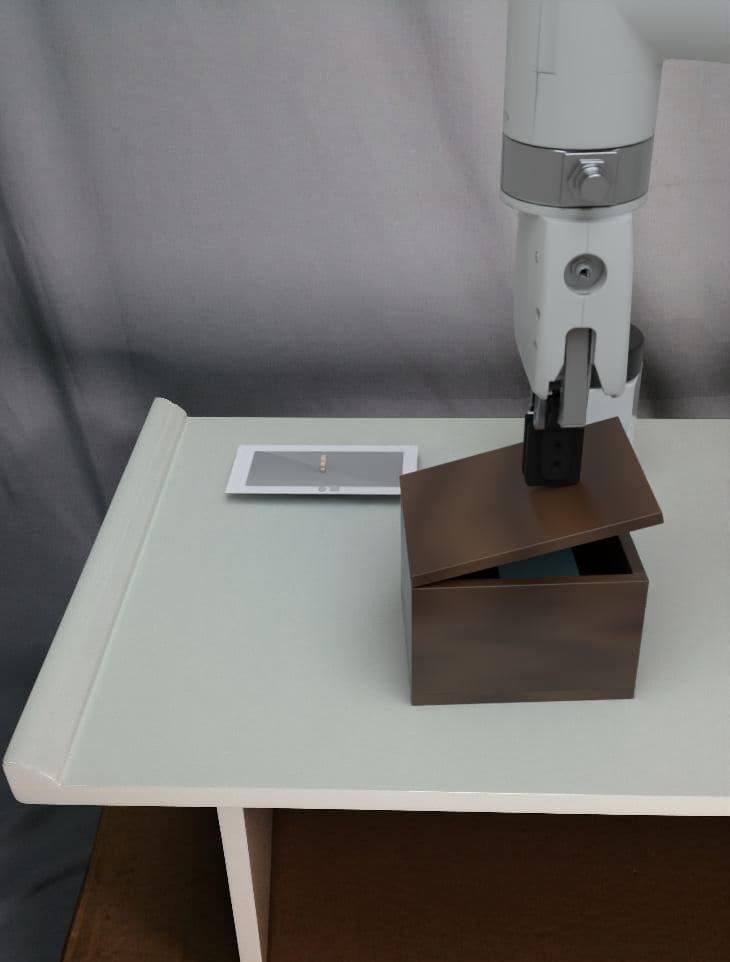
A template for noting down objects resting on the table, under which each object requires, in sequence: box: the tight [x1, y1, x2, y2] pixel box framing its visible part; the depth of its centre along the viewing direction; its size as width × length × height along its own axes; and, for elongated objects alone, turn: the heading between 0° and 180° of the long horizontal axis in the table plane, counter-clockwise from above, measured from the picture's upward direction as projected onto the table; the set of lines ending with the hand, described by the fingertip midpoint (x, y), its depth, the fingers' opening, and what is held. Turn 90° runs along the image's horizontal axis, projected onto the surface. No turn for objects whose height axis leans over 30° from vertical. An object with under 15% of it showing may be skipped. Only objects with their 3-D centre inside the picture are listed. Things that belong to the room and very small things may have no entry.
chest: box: [400, 498, 650, 706], centre depth 74 cm, size 14×12×9 cm
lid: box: [399, 416, 665, 587], centre depth 71 cm, size 14×12×1 cm
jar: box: [527, 322, 645, 448], centre depth 92 cm, size 9×8×12 cm
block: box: [492, 547, 580, 579], centre depth 75 cm, size 5×5×5 cm
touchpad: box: [224, 444, 419, 496], centre depth 95 cm, size 8×15×2 cm, turn 85°
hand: (550, 478), depth 70 cm, fingers closed
